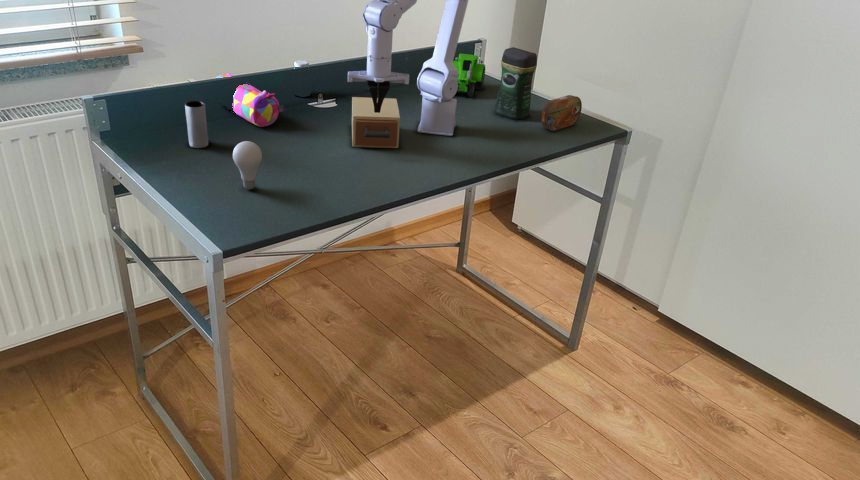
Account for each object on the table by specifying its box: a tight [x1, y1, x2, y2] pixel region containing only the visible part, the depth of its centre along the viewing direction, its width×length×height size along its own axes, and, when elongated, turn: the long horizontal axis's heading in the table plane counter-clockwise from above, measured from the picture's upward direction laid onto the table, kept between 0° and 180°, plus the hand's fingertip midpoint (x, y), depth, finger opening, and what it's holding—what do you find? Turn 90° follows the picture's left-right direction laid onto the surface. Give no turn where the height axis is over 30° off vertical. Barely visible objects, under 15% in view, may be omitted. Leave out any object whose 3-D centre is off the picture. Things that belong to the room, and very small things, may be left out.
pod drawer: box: [355, 119, 398, 147], centre depth 184 cm, size 17×10×6 cm, turn 6°
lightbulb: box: [232, 140, 263, 191], centre depth 157 cm, size 6×6×11 cm
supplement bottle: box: [293, 59, 310, 68], centre depth 209 cm, size 5×5×10 cm
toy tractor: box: [453, 53, 486, 98], centre depth 223 cm, size 11×16×10 cm
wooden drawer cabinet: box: [351, 96, 401, 149], centre depth 188 cm, size 14×12×8 cm
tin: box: [540, 94, 583, 132], centre depth 203 cm, size 15×3×8 cm, turn 131°
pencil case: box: [215, 73, 285, 128], centre depth 193 cm, size 22×9×9 cm, turn 47°
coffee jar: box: [494, 46, 538, 120], centre depth 206 cm, size 10×8×19 cm
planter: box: [184, 100, 209, 149], centre depth 175 cm, size 4×4×10 cm
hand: (377, 111), depth 178 cm, fingers closed
